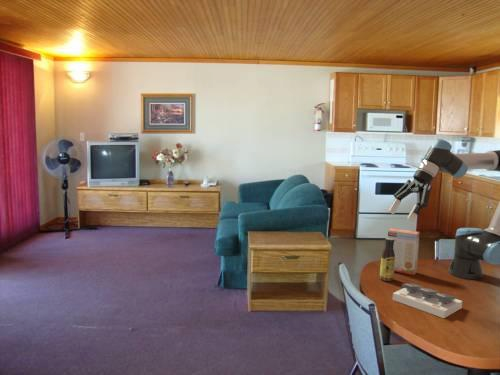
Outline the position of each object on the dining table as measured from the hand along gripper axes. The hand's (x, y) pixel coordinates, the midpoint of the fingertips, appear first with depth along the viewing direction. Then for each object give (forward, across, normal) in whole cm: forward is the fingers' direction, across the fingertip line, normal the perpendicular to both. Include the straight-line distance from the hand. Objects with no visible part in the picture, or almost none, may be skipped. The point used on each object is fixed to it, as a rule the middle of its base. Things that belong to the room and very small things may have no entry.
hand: (400, 216), depth 185 cm
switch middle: (+22, +13, +21) cm, 33 cm away
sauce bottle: (+27, -15, +23) cm, 38 cm away
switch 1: (+24, +7, +18) cm, 31 cm away
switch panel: (+26, +13, +23) cm, 37 cm away
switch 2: (+21, +19, +23) cm, 37 cm away
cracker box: (+20, -24, +34) cm, 46 cm away
